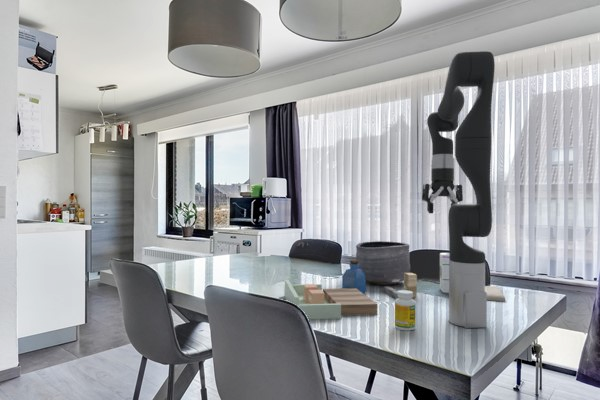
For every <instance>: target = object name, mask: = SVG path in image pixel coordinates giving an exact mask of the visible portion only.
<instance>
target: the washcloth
mask: <svg viewBox="0 0 600 400" xmlns="http://www.w3.org/2000/svg"><path fill="white" fill-rule="evenodd" d="M485 292H486V293H487V301H491V302H492V301H494V302H495V301H496V302H502V303H504V302H506V296H505V294H504V293H503V292H502V290H501V288H500V287H499V286H496V285H485Z"/></svg>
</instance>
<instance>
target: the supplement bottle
mask: <svg viewBox="0 0 600 400" xmlns="http://www.w3.org/2000/svg"><path fill="white" fill-rule="evenodd" d="M397 291H398V293H397V296H398V297H399V298H397V299H395V300H394V326H395V328H396V329H397V330H400V331H413V330H415V329H416V308H417V307H416V301H415V300H414V299H413V298H414V297H413V292H412V291H407V290H404V289H403V290H397Z"/></svg>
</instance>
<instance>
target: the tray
mask: <svg viewBox="0 0 600 400" xmlns="http://www.w3.org/2000/svg"><path fill="white" fill-rule="evenodd" d="M303 284H304V283H303ZM303 284H302V283H301V284H292V283H291V281H290V280H289V279H285V280H284V294H283V295H284V299H285V300H288V301H290V302H292V303H294V304H296V305H297V306H299V307H300V308H301V309H302V310H303V311H304V312H305V314H306V315H307V317H308V319H309V320H331V319H332V320H333V319H335V320H337V319H341V318H342V315H341V304H340V303H338V304H330V303H329V302H328V301H327V300H326V299H325V298H324V304H309V303H305V301H304V300H303ZM314 284H315V285H316V286H317V287H318V290H322V291H323V285H322V284H321V283H320V284H319V283H314Z"/></svg>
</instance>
